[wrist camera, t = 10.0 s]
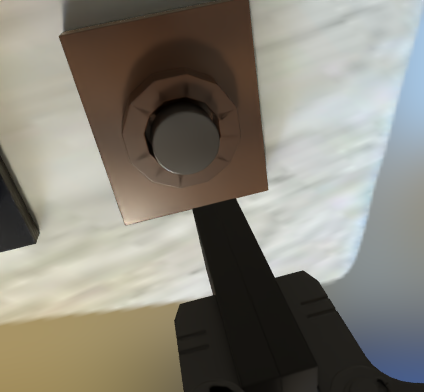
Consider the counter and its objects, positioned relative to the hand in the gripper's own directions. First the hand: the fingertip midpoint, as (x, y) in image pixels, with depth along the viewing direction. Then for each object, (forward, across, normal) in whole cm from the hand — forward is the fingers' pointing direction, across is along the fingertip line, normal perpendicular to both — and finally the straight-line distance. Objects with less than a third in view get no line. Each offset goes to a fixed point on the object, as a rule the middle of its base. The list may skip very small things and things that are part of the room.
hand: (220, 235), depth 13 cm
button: (+10, 0, 0) cm, 10 cm away
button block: (+13, 0, 0) cm, 13 cm away
